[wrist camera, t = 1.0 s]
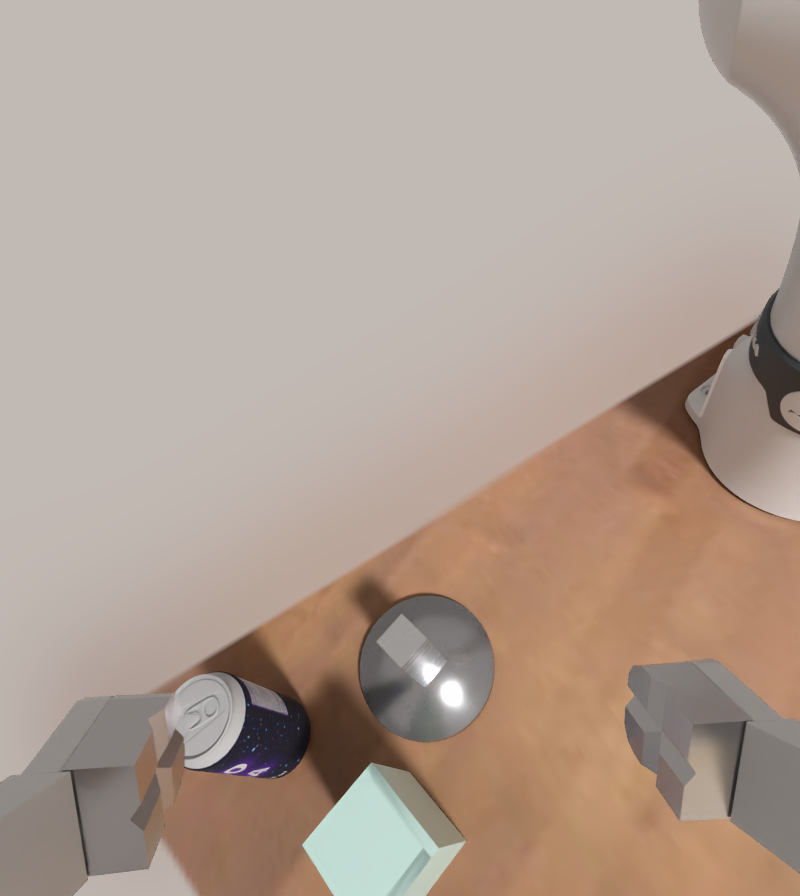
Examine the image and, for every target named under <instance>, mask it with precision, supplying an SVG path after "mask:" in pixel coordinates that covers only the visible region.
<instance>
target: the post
mask: <svg viewBox="0 0 800 896" xmlns="http://www.w3.org/2000/svg"><path fill="white" fill-rule="evenodd" d="M493 680H494V656H493V650H492V647H491V644H490V641H489V638H488V636H487V634H486V632H485V630H484V628H483V627H482V625H481V623H480V622H479V621H478V620H477V618H476V617H475V616H474V615H473V614H472V613H471V612H470V611H469V610H468V609H466V608H465V607H464V606H462V605H460V604H459V603H457V602H455V601H453V600H450V599H448V598H444V597H440V596H418V597H413V598H410V599H407V600H404V601H402V602H400V603H398V604H396V605H395V606H393V607H392V608H390V609H389V610H388V611H386V612H385V613H384V614H383V615H382V616H381V617H380V618H379V619H378V621H377V622H376V623H375V624H374V626H373V627H372V629H371V631H370V632H369V634H368V636H367V638H366V641H365V644H364V646H363V650H362V654H361V660H360V681H361V687H362V691H363V695H364V697H365V700H366V703H367V705H368V706H369V708H370V710H371V712H372V713H373V714H374V716H375V717H376V719H377V720H378V721H379V722H380V723H381V724H382V725H383V726H384V727H386V728H387V729H388V730H390V731H391V732H393V733H395V734H396V735H398V736H400V737H403V738H405V739H408V740H412V741H417V742H436V741H441V740H445V739H448V738H450V737H452V736H455V735H456V734H458V733H460V732H461V731H463V730H464V729H465V728H467V727H468V726H469V725H470V724H471V723H472V722H473V721H474V720H475V719H476V718H477V717H478V715H479V714H480V713H481V711H482V710H483V708H484V706H485V704H486V702H487V700H488V698H489V695H490V692H491V689H492V685H493Z"/></svg>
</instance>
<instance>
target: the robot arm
mask: <svg viewBox="0 0 800 896" xmlns="http://www.w3.org/2000/svg"><path fill="white" fill-rule="evenodd" d="M699 16H700V22H701V29H702V33H703V37H704V40H705V44H706V47H707V49H708V52H709V54H710V56H711V58H712V61H713V62H714V64H715V65H716V67H717V69H718V70H719V72H720V73H721V74H722V76H723V77H724V78H725V79H726V80H727V82H728V83H729V84H731V85H733V86H734V87H736V88H737V89H739V90H740V91H741V92H742V93H744V94H745V95H746V96H748V97H749V98H750V99H752V100H753V101H754V102H756V104H758V106H759V107H761V109H763V111H764V112H766V114H767V115H769V117H770V118H771V119H772V121H773V122H774V123H775V125H776V126H777V127H778V128H779V130H780V131H781V133H782V135H783V136H784V138H785V140H786V141H787V143H788V145H789V147H790V149H791V152H792V154H793V156H794V159H795V161H796V164H797V167H798V171H799V175H800V0H699ZM685 408H686V410H687V412H688V414H689V415H690V417H691V418H692V420H693V421H694V422H695V424H696V425H697V426H698V429H699V432H700V438H701V446H702V450H703V454H704V456H705V459H706V461H707V463H708V465H709V467H710V468H711V470H712V471H713V473H714V474H715V475H716V477H717V478H718V479H719V480H720V481H721V482H722V483H723V484H724V485H725V486H726V487H727V488H728V489H729V490H730V491H732V492H733V493H734V494H736V495H737V496H738V497H740V498H741V499H743V500H744V501H746V502H748V503H750V504H751V505H753V506H755V507H757V508H759V509H761V510H764V511H766V512H769V513H771V514H774V515H777V516H780V517H784V518H787V519H792V520H796V521H800V221H799V226H798V230H797V234H796V238H795V242H794V245H793V249H792V252H791V255H790V259H789V262H788V265H787V269H786V271H785V274H784V277H783V280H782V283H781V286H780V288H779V289H778V290H777V291H776V292H775V293H774V294H773V295H772V296H771V298H770V299H769V300H768V302H767V304H766V306H765V308H764V309H763V311H762V313H761V315H759V318H758V320H757V322H756V323H755V324H754V326H753V328H752V329H751V332H750V337H749V336H746V335H742V336H740V337H739V338H738V339H737V341H736V342H735V344H734V346H733V349H729V350H727V352H726V353H725V354H724V356H723V358H722V360H721V363H720V365H719V368H718V370H717V372H716V374H714V375H713V376H712V377H710V378H709V379H708V380H707V381H705V382H704V383H703V384H701V385H700V386H699V387H698V388H696V389H695V390H694V391H692V392H691V393H690V394H689V396H688V398H687V400H686V402H685ZM628 686H629V688H630V689H631V691H632V692H633V694H634V695H635V696H634V697H633V698H632V699H631V700H630V702H629V703H628V704H627V705H626V707H625V728H626V733H627V738H628V741H629V743H630V746H631V748H632V750H633V752H634V754H635V756H636V757H637V759H638V760H639V762H640V763H641V764H642V765H643V766H645V767H646V768H648V769H649V770H651V771H653V772H654V773H656V774H657V780H656V787H657V788H658V790H659V791H660V793H661V794H662V796H663V797H664V799H665V800H666V802H667V803H668V805H669V806H670V807H671V809H672V810H673V812H674V813H675V815H676V816H677V818H678V819H679V821H694V820H712V819H730V818H731V820H730V821H731V822H732V823H733V824H735V825H736V826H737V827H739V828H740V829H741V830H743V831H744V832H745V833H747V834H748V835H749V836H751V837H752V838H753V839H755V840H756V841H757V842H759V843H760V844H761V845H763V846H764V847H765V848H767V849H768V850H769V851H771V852H772V853H773V854H775V855H776V856H777V857H779V858H780V859H781V860H783V861H784V862H785V863H787V864H788V865H789V866H790V867H792V868H793V869H794V870H796V871H797V872H798V873H800V722H799V721H797V720H795V719H784V718H782V717H781V716H780V715H779V714H778V713H777V712H776V711H775V710H773V709H772V708H771V707H770V706H769V705H768V704H767V703H765V702H764V701H763V700H762V699H761V698H760V697H759V696H757V695H756V694H755V693H754V692H753V691H752V690H751V689H750V688H748V687H747V686H746V685H745V684H744V683H743V682H742V681H740V680H739V679H738V678H737V677H736V676H735V675H734V674H732V673H731V672H730V671H729V670H728V669H727V668H726V667H725V666H723V665H722V664H721V663H720V662H718V661H715V660H713V659H702V660H692V661H685V662H679V663H664V664H650V665H635V666H633V667H632V669H631V671H630V673H629V679H628ZM180 716H181V708H180V701H179V697H178V696H177V695H176V694H175V693H168V694H142V695H116V696H100V697H85V698H83V699H81V700H79V701H77V703H76V704H75V705H74V706H73V708H72V709H71V710H70V711H69V713H68V714H67V715H66V717H65V718H64V719H63V721H62V722H61V723H60V725H59V726H58V727H57V728H56V730H55V731H54V733H53V734H52V735H51V737H50V738H49V739H48V740H47V742H46V743H45V744H44V746H43V747H42V748H41V749H40V751H39V752H38V753H37V755H36V756H35V757H34V759H33V760H32V761H31V763H30V764H29V766H28V767H27V768H26V769H25V771H24V772H23V773H22V774H21V775H13V776H9V777H8V778H6V779H5V780H3V781H2V782H0V896H73V895H74V894H75V893H76V892H77V891H78V890H79V889H80V888H81V887H82V886H83V885H84V883H85V882H86V881H87V880H88V877H87V876H94V875H103V874H111V873H119V872H128V871H136V870H144V869H149V867H150V864H151V861H152V859H153V856H154V854H155V851H156V849H157V846H158V843H159V841H160V838H161V836H162V833H163V831H164V828H165V823H164V814H163V811H164V810H165V809H167V808H168V807H169V806H170V805H171V804H172V803H173V802H174V801H175V799H176V796H177V794H178V791H179V788H180V785H181V781H182V776H183V770H184V765H185V744H184V737H183V736H182V735H181V734H180V733H179V732H178V731H177V730H176V729H175V728H176V725H177V723H178V721H179V719H180Z"/></svg>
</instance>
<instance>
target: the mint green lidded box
mask: <svg viewBox="0 0 800 896" xmlns="http://www.w3.org/2000/svg"><path fill="white" fill-rule="evenodd" d="M465 842H466V840H465V838H464V837H463V836H462V835H461V833H460V832H459V831H458V830H457V829H456V827H455V826H454V825H453V824H452V823H451V821H450V820H449V819H448V818H447V817H446V815H445V814H444V813H443V812H442V811H441V809H440V808H439V807H438V806H437V805H436V803H435V802H434V801H433V800H432V798H431V797H430V796H429V795H428V794H427V792H426V791H425V790H424V789H423V788H422V786H421V785H420V784H419V783H418V782H417V780H416V779H415V778H414V777H413V776H412V774H411V773H410V772H408V771H404V770H400V769H396V768H392V767H388V766H384V765H380V764H375V763H370V765H369V766H368V767H367V768H366V769H365V770H364V772H363V773H362V774H361V775H360V776H359V778H358V779H357V780H356V781H355V782H354V784H353V785H352V786H351V787H350V788H349V790H348V791H347V792H346V793H345V794H344V796H343V797H342V798H341V799H340V800H339V802H338V803H337V804H336V805H335V806H334V807H333V809H332V810H331V811H330V812H329V813H328V815H327V816H326V817H325V818H324V819H323V821H322V822H321V823H320V824H319V825H318V827H317V828H316V829H315V830H314V831H313V833H312V834H311V835H310V836H309V837H308V838H307V840H306V841H305V842H304V843H303V844H302V845H303V847H304V848H305V850H306V852H307V853H308V855H309V856H310V858H311V860H312V861H313V863H314V864H315V866H316V868H317V869H318V871H319V872H320V874H321V876H322V877H323V879H324V880H325V882H326V884H327V885H328V887H329V888H330V890H331V892H332V893H333V895H334V896H426V894H427V893H428V892H429V890H430V889H431V888H432V886H433V885H434V884H435V882H436V881H437V880H438V878H439V877H440V876H441V874H442V873H443V872H444V870H445V869H446V868H447V866H448V865H449V864H450V862H451V861H452V860H453V858H454V857H455V856H456V854H457V853H458V852H459V850H460V849H461V848H462V846H463V845H464V844H465Z"/></svg>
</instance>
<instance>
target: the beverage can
mask: <svg viewBox="0 0 800 896" xmlns="http://www.w3.org/2000/svg"><path fill="white" fill-rule="evenodd" d="M175 694H176V695H177V696H178V697H179V701H180V708H181V716H180V719H179V721H178V723H177V725H176V728H175V729H176V730H177V731H178V732H179V733H180V734H181V735H182V736H183V737H184V744H185V765H184V768H186V769H189V770H194V771H203V772H212V773H221V774H230V775H239V776H249V777H258V778H267V779H275V778H280V777H283V776H285V775H286V774H288V773H290V772H291V771H292V770H293V769H294V768H295V767H296V766H297V765H298V764H299V763H300V761H301V760H302V758H303V756H304V755H305V752H306V750H307V747H308V744H309V739H310V723H309V718H308V715H307V713H306V711H305V709H304V708H303V707H302V705H301V704H300V703H298V702H297V701H296V700H294V699H291V698H289V697H286V696H284V695H281V694H279V693H277V692H274V691H272V690H269V689H267V688H264V687H262V686H259V685H257V684H254V683H252V682H249V681H247V680H244V679H242V678H239V677H237V676H234V675H232V674H229V673H226V672H211V673H208V674H201V675H198V676H195V677H193V678H191V679H189V680H188V681H186V682H185V683H183V684H182V685H181V686H180V687H179V688H178V689H177V690H176V692H175Z"/></svg>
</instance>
